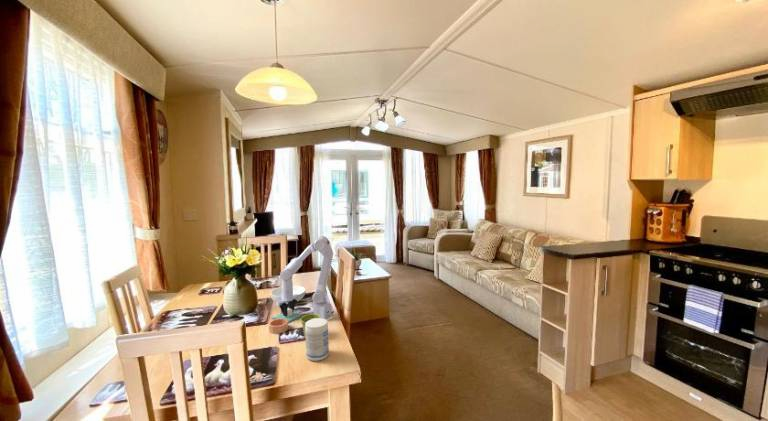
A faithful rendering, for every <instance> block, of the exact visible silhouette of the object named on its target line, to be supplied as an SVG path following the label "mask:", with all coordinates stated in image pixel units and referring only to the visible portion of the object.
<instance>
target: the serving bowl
mask: <svg viewBox="0 0 768 421" xmlns="http://www.w3.org/2000/svg"><path fill="white" fill-rule="evenodd" d="M306 290H307V289H306V288H305V287H304V286H301V285H293V295H294V294H299V298H296V299H295V300H297V303H298V302H299V301H301V300H302V299H303V298H304V297H305V295H306V292H307V291H306ZM269 294H270V297H271V300H272V301H274V302H275V303H276V302H278V301H279V300H280V299H282V298H281V297H282V286H279V287H276V288H273V289H272V290H271V291H270V293H269ZM286 304H287V305H288V302H286Z"/></svg>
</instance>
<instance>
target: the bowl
mask: <svg viewBox="0 0 768 421" xmlns="http://www.w3.org/2000/svg"><path fill="white" fill-rule="evenodd" d="M288 329H289V324H288V321H287V319H275V320H273V319H271V320H270V321H269V322H268V332H269V333H270V334H274V335H279V334H282V333H285V332H287V331H288Z"/></svg>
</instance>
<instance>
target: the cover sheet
mask: <svg viewBox="0 0 768 421" xmlns="http://www.w3.org/2000/svg"><path fill="white" fill-rule="evenodd" d="M303 314H304V313H300V312H296V311H295V310H294V311H293V313H292V309H290V308H289V307H288V309H287V316H283V313H280V314H277V315H276V316H273V317H272V318H274V319H287V321H288V323H289V322H291V321H293V320H295V319H297V318H299V317H301V316H302V315H303ZM299 319H300V318H299ZM297 320H298V319H297ZM295 321H296V320H295ZM293 322H294V321H293ZM291 323H292V322H291ZM289 324H290V323H289Z"/></svg>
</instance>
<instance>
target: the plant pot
mask: <svg viewBox="0 0 768 421" xmlns="http://www.w3.org/2000/svg"><path fill="white" fill-rule="evenodd" d="M304 315H305V316H303V317H301V318H299V319H300V322H301V324H302V330H303V336H304V337H305V338H306V336H305V324H306V322H307V321H309V320H311V319H315V318H320V316H319V315H317V314H314V313H310V314H309V313H308V314H304Z"/></svg>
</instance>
